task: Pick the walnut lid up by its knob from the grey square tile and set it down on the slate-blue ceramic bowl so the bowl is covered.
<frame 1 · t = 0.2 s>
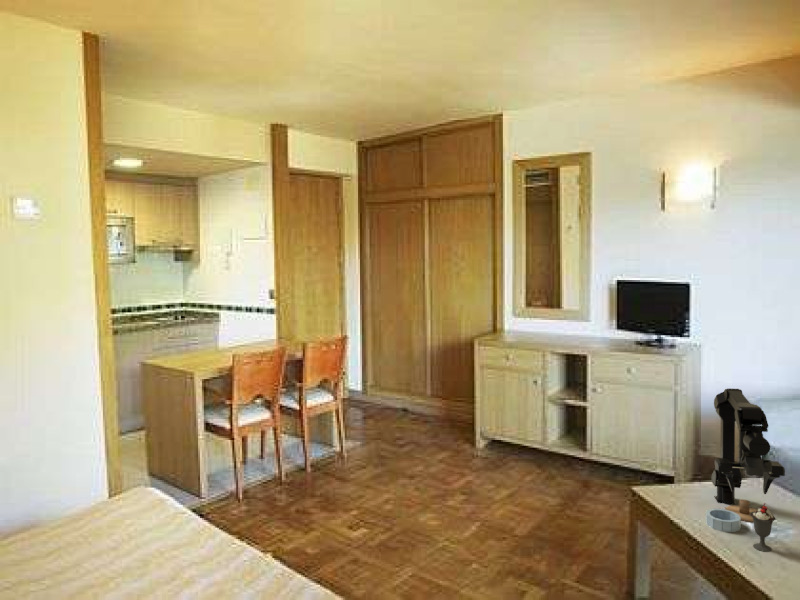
hand: (748, 492, 186), 14 cm above the table, fingers open, 9 cm apart
lid: (744, 514, 201), point 1 cm above the table, touching grey square tile
sundae: (762, 548, 179), on the table
grey square tile: (744, 516, 201), on the table
bowl: (722, 526, 194), on the table
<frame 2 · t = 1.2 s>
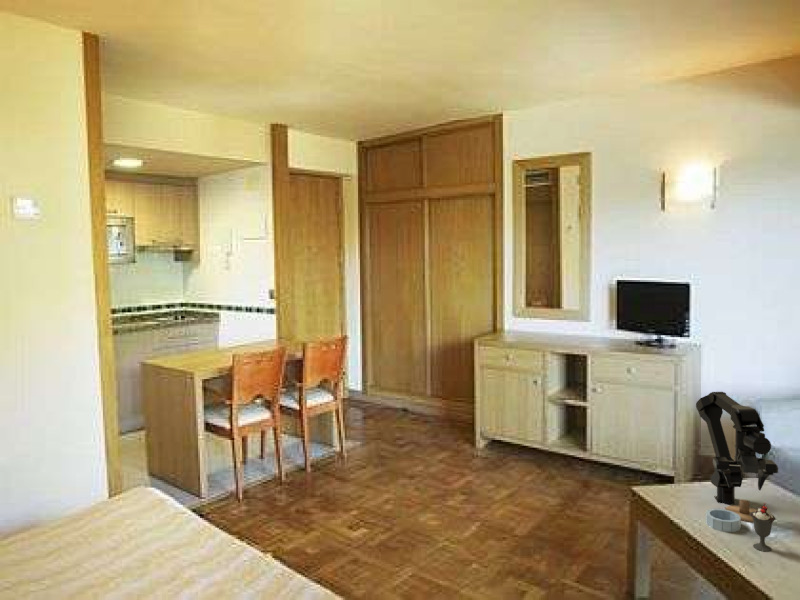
hand: (744, 488, 200), 10 cm above the table, fingers open, 9 cm apart
nothing on the table moved.
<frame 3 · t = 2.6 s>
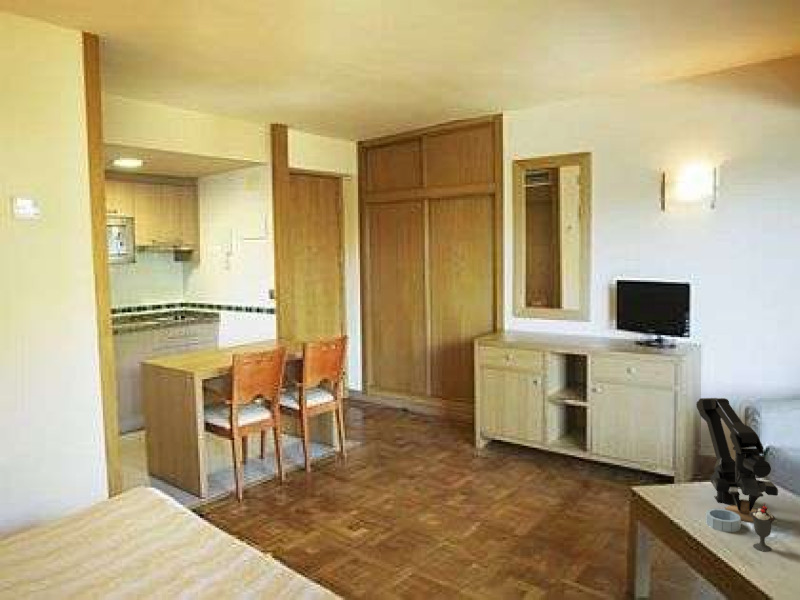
hand: (744, 510, 201), 2 cm above the table, fingers closed on lid, 3 cm apart
lid: (744, 514, 201), point 1 cm above the table, touching gripper, grey square tile
everything else where it was.
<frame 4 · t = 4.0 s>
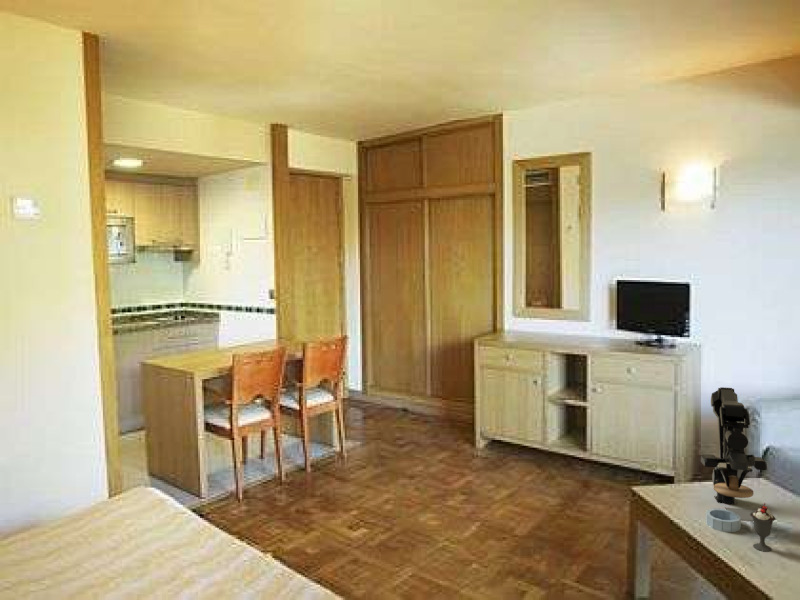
hand: (733, 487, 195), 12 cm above the table, fingers closed on lid, 3 cm apart
lid: (733, 491, 195), point 11 cm above the table, touching gripper
everything else where it was.
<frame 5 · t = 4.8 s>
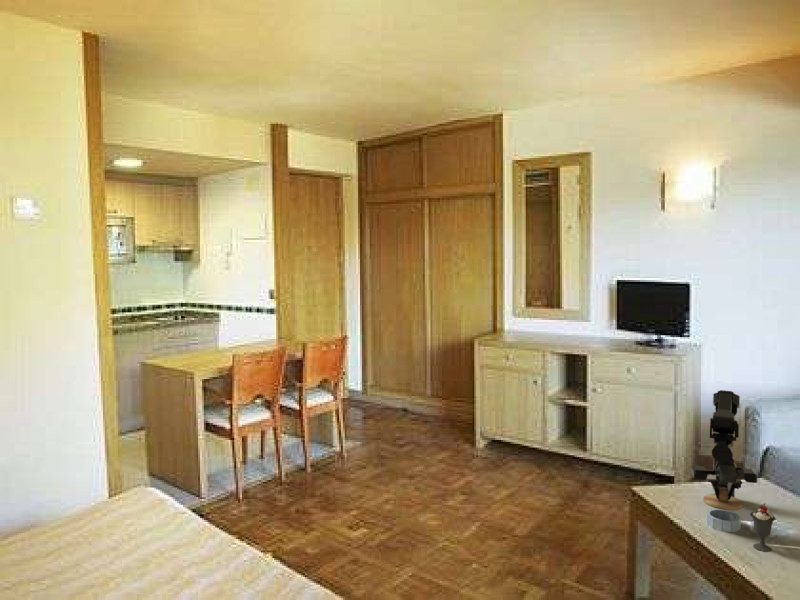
hand: (723, 498, 193), 9 cm above the table, fingers closed on lid, 3 cm apart
lid: (723, 503, 193), point 8 cm above the table, touching gripper
everything else where it was.
when the fingers open (7 cm above the table, at t = 5.4 s): lid drops 2 cm, resting on bowl.
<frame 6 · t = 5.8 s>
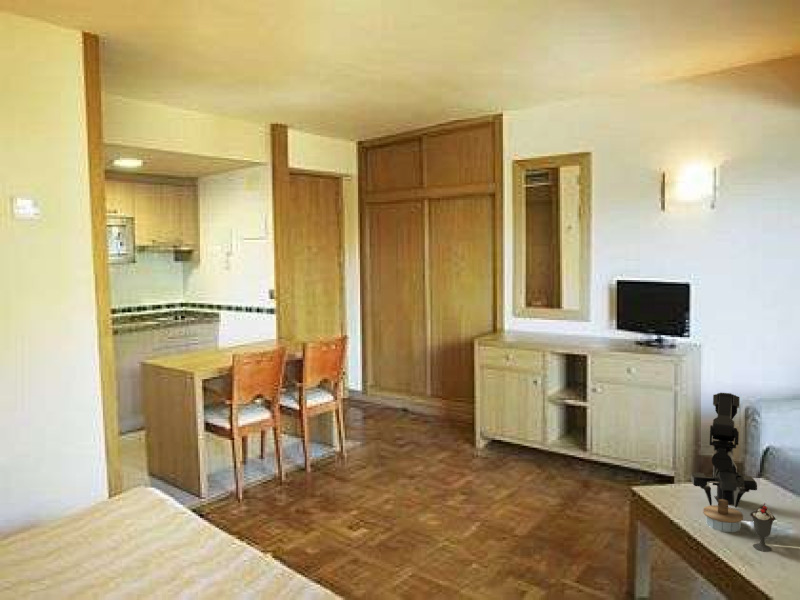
hand: (723, 506, 193), 7 cm above the table, fingers open, 7 cm apart
lid: (722, 515, 194), point 4 cm above the table, touching bowl
everything else where it was.
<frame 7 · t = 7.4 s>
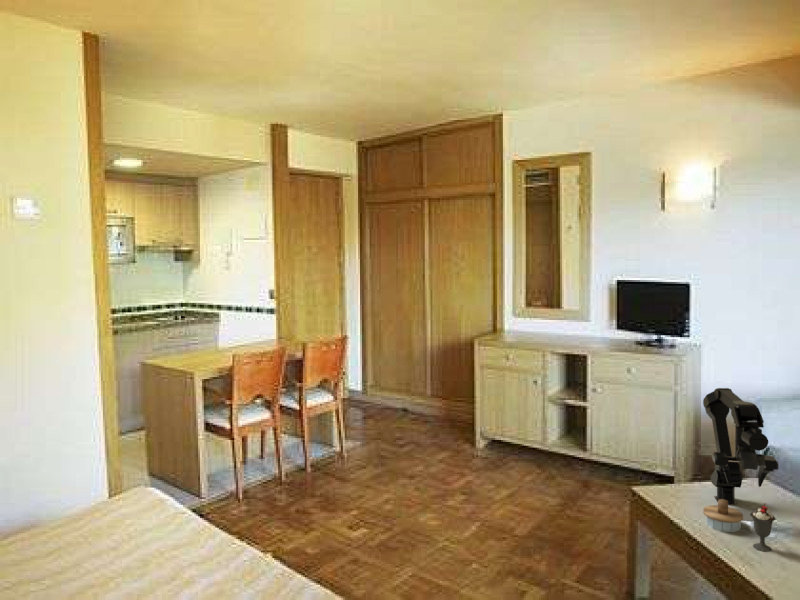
hand: (744, 485, 197), 12 cm above the table, fingers open, 9 cm apart
nothing on the table moved.
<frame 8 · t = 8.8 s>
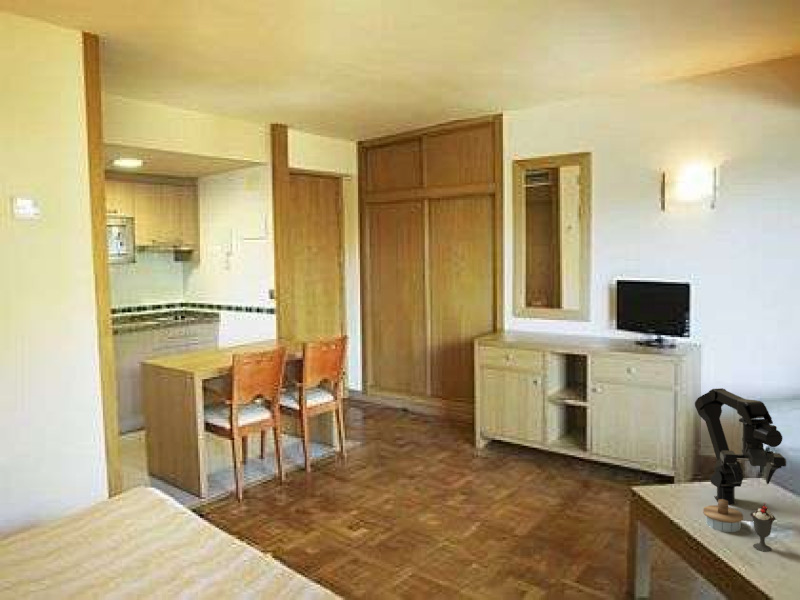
hand: (752, 482, 199), 13 cm above the table, fingers open, 9 cm apart
nothing on the table moved.
at the end: lid 0.0 cm from the bowl (horizontally); lid 0.0 cm off-centre on the bowl, point 4.0 cm above the bowl's base; lid tilted 0° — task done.
